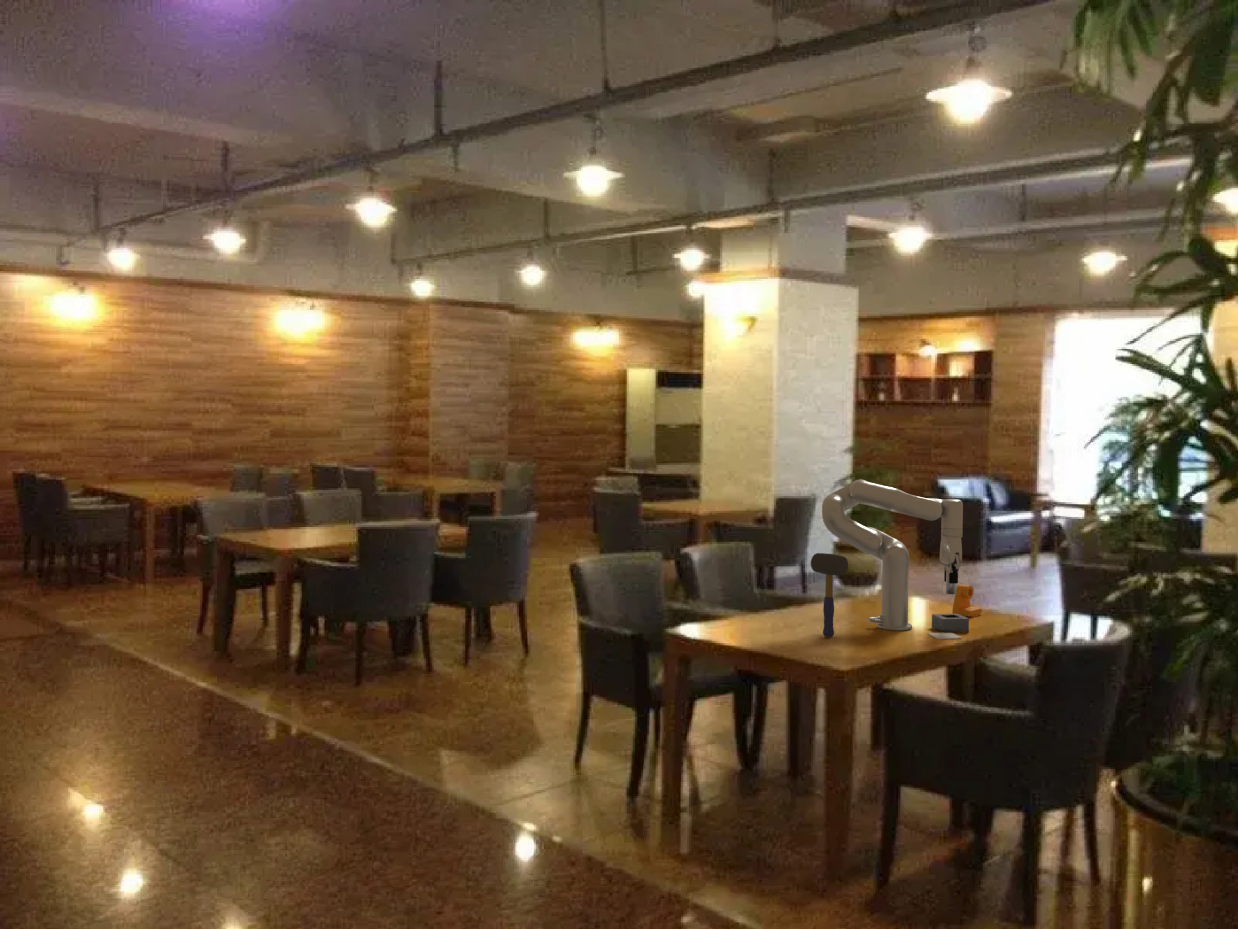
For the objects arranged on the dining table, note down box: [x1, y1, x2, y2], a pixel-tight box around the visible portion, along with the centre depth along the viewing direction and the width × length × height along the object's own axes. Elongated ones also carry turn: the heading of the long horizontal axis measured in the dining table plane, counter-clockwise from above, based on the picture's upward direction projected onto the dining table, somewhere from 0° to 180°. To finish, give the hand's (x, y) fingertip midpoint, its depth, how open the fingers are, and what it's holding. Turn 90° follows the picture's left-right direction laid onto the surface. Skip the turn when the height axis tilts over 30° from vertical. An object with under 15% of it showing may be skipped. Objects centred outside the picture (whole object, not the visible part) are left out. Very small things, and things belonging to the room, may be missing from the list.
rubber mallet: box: [810, 552, 849, 639], centre depth 410 cm, size 12×8×30 cm, turn 40°
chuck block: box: [931, 613, 970, 633], centre depth 425 cm, size 10×10×5 cm
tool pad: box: [927, 632, 963, 640], centre depth 413 cm, size 9×9×1 cm
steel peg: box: [945, 562, 957, 595], centre depth 424 cm, size 5×5×13 cm
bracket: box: [951, 583, 983, 618], centre depth 455 cm, size 11×7×12 cm, turn 136°
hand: (951, 582), depth 425 cm, fingers closed on steel peg, 3 cm apart
